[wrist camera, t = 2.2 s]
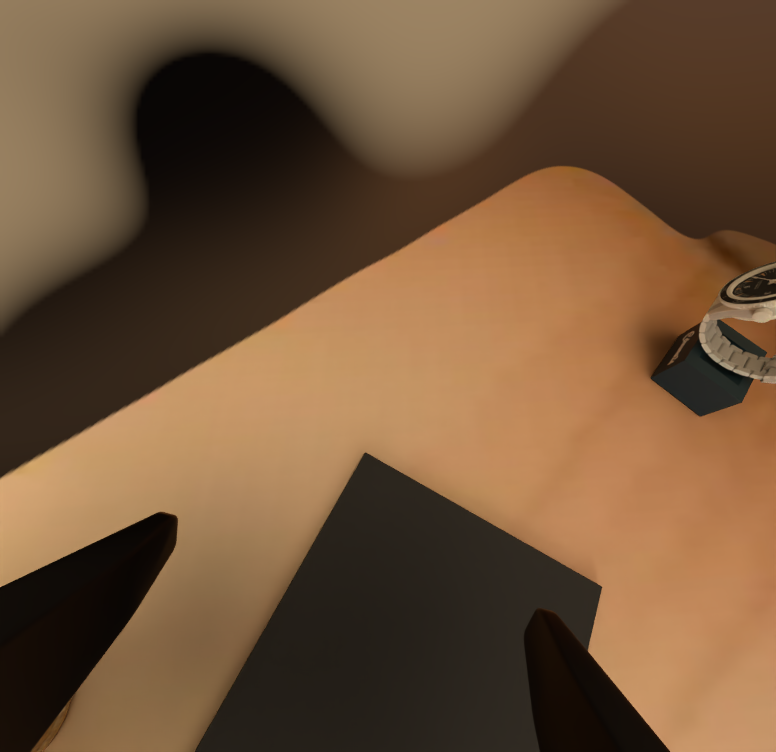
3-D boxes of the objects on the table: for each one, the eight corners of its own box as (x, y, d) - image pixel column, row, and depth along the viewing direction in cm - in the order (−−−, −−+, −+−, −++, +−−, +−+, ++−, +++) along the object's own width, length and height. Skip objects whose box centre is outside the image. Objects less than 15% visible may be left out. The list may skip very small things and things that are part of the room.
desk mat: (471, 1130, 14) (475, 1146, 13) (128, 869, 15) (122, 877, 15) (598, 586, 22) (602, 586, 21) (364, 453, 23) (365, 452, 23)
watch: (657, 321, 31) (810, 215, 21) (746, 385, 29) (958, 304, 19) (628, 362, 29) (781, 267, 19) (721, 433, 27) (945, 372, 17)
